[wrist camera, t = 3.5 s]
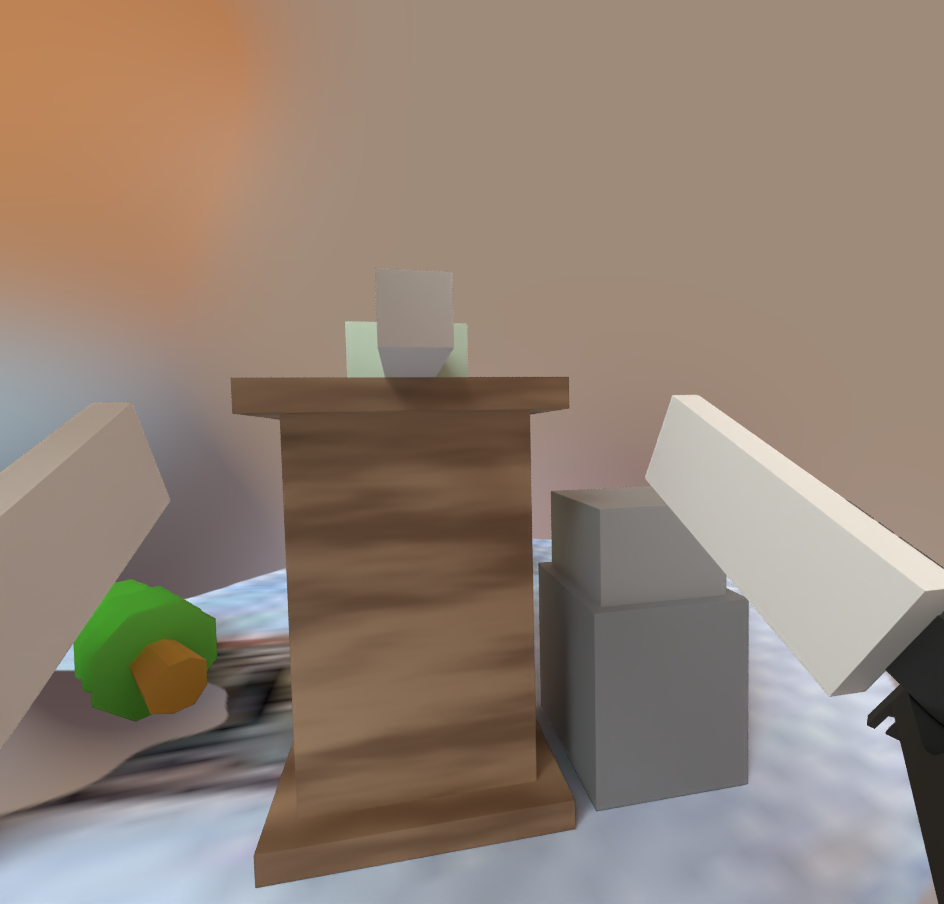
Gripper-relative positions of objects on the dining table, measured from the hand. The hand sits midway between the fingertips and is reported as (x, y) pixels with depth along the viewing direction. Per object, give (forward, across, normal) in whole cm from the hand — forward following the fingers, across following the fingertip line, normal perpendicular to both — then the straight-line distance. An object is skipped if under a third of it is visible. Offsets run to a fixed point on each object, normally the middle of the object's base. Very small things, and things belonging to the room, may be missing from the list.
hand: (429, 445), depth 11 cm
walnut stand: (+6, 0, -34) cm, 34 cm away
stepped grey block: (+6, +18, -34) cm, 39 cm away
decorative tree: (+23, -30, -44) cm, 58 cm away
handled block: (+16, 0, -5) cm, 17 cm away
